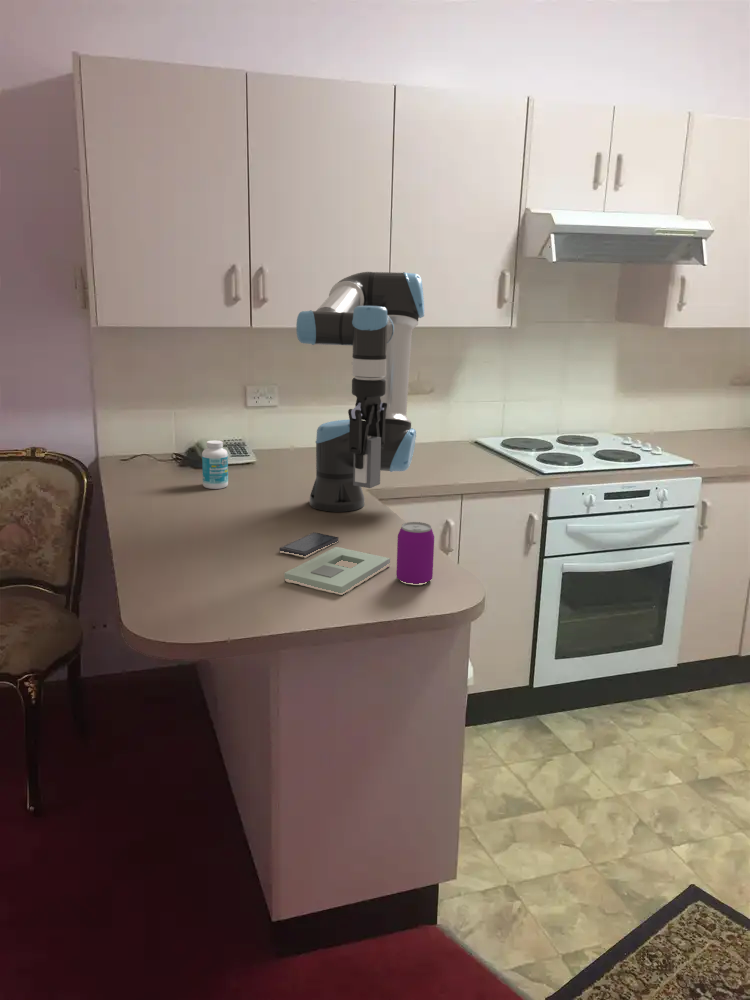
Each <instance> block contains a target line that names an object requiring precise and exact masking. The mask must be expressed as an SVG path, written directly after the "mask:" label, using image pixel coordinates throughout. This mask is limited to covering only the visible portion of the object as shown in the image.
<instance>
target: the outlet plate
mask: <svg viewBox="0 0 750 1000" xmlns="http://www.w3.org/2000/svg"><path fill="white" fill-rule="evenodd" d="M341 560H343V561H348V562H353V563H357V565H356V566H354V567H352V568H348V567H344V566H339V565H335V564H336V563H337V562H339V561H341ZM389 563H390V564H391V558H390V557H386V556H382V555H376V554H373V553H368V552H362V551H358V550H353V549H348V548H344V547H341V546H335V547H333V548H331V549H329V550H327V551H325V552H322V554H319V555H317V556H315V557H313V558H311V559H310V560H307V561H305V562H303V563H301V564H299V565H297V566H295V567H293V568H292V569H289V570H288V571H285V572H284V573H283V574H284V576H283V577H284V578H285V579H289V580H293V581H297V582H300V583H304V584H307V585H311V586H314V587H318V588H322V589H326V590H331V591H334V592H338V593H343V592H345V591H346V590H348V589H350V588H351V587H352V586H354V585H355V584H357V583H359V582H360V581H362V580H364V579H365V578H367V577H368V576H370V575H372V574H373V573H375V572H377V571H378V570H380V569H381V568H383V567H384V566H386V565H387V564H389Z"/></svg>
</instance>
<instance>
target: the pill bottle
mask: <svg viewBox="0 0 750 1000" xmlns="http://www.w3.org/2000/svg"><path fill="white" fill-rule="evenodd" d="M223 446H224V442H223V441H222V440H208V441H206V447H207V448H205V449H203V451H202V453H201V461H202V467H201V468H202V486H203V487H204V488H206V489H209V490H210V489H211V490H219V489H220V490H221V489H225V488H226V487H228V485H229V463H228V462H229V455H228V451H227V449H225V448H223Z"/></svg>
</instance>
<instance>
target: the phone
mask: <svg viewBox="0 0 750 1000" xmlns="http://www.w3.org/2000/svg"><path fill="white" fill-rule="evenodd" d="M337 541H338V542H339V536H335V535H334V536H333V535H329V534H325V533H324V534H323V533H318V532H311V533H309V534H306V535H305V536H303V537H301V538H298V539H296V540H293V541H291V542H289V543H287V544H285V545H283V546H281V547H279V552H280V551H284V552H289V553H294V554H299V555H303V556H306V555H308V554H310V553H312V552H314V551H316V550H318V549H321V548H323V547H325V546H328V545H330V544H332V543H335V542H337ZM338 542H337V543H338ZM335 544H336V543H335Z"/></svg>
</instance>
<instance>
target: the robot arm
mask: <svg viewBox="0 0 750 1000" xmlns="http://www.w3.org/2000/svg"><path fill="white" fill-rule="evenodd" d="M422 280H423V279H422V277H421V276H420V275H419V274H418V273H415V272H414V273H410V272H406V271H402V272H386V271H385V272H382V271H379V272H378V271H374V272H373V271H361V272H358V273H353V274H351V275H348V276H346V277H344V278H343V279H341V280H339V281H338V282H336V283H335V284H334V285H333V286H332V288H331V289H330V291H329V294H328V297H327V298H326V299H325V300H324V302H323V303H322V304H321V305H320V306H318V308H317V309H316V310H304V311H303V310H302V311H300V312H299V313H298V315H297V317H296V325H295V326H296V327H295V328H296V337H297V340H298V341H299V343H301V344H305V345H307V344H308V345H312V346H315V345H323V346H324V345H325V346H326V345H327V346H350V347H351V346H352V361H351V365H352V369H351V371H352V373H351V375H352V376H353V378H352V380H351V394H352V395H353V397H354V396H355V397H356V401H355V406H354V408H349V409H348V411H347V412H348V418H349V419H338V420H332V421H327V422H323V423H322V424H320V425H319V426H318V427H317V429H316V438H315V446H316V447H315V451H316V452H315V461H316V462H315V465H316V466H315V473H316V474H315V479H314V483H313V485H312V489H311V492H310V495H309V506H310V507H311V508H313V509H316V510H319V511H325V512H331V513H333V512H334V513H335V512H336V513H339V512H340V513H341V512H342V513H343V512H345V513H346V512H353V511H357V510H360V509H361V508H363V507H364V506H365V494H364V492H363V489H362V488H363V487H360V486H354V485H353V467H354V454H355V482H361V483H367V454H365V452H366V444H367V437H368V436H376V437H381V465H380V472H381V471H382V472H390V473H391V472H405V471H407V470H408V469H409V468H410V465H411V463H412V460H413V458H414V457H413V455H414V451H415V446H416V440H417V438H416V437H417V430H416V429H415V428H413V427H412V422H411V420H410V419H409V418H408V417H407V407H408V395H409V394H408V393H409V383H410V382H409V381H410V380H409V379H410V365H411V351H412V337H413V335H412V333H413V330H414V329H415V328H416V327H417V326H418V325H419V319H421V318H423V317H425V300H424V299H425V298H424V287H423V281H422Z"/></svg>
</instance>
